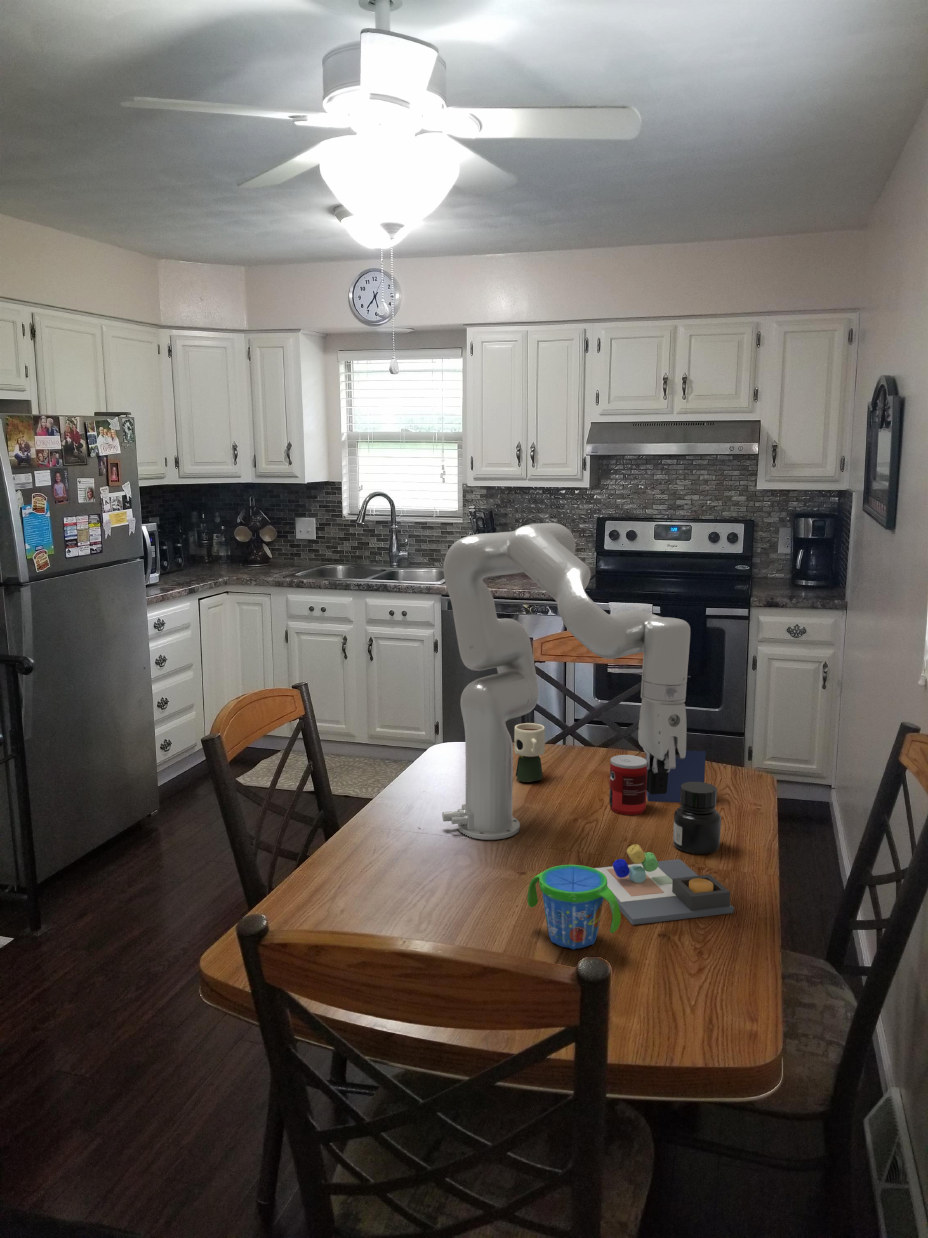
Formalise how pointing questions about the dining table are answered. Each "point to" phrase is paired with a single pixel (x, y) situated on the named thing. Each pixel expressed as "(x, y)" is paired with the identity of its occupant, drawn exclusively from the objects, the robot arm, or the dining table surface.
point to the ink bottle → (697, 819)
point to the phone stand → (682, 776)
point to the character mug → (529, 751)
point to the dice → (636, 857)
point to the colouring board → (666, 894)
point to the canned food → (628, 784)
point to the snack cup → (574, 903)
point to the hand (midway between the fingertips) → (656, 792)
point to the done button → (700, 885)
